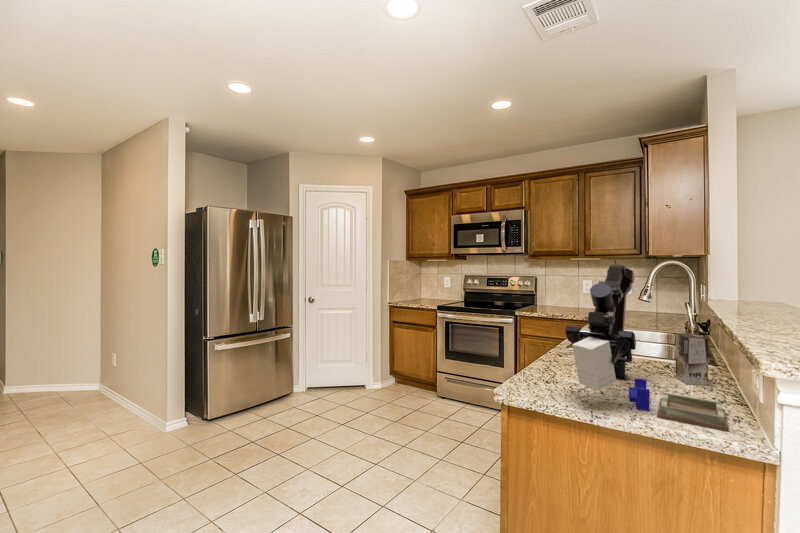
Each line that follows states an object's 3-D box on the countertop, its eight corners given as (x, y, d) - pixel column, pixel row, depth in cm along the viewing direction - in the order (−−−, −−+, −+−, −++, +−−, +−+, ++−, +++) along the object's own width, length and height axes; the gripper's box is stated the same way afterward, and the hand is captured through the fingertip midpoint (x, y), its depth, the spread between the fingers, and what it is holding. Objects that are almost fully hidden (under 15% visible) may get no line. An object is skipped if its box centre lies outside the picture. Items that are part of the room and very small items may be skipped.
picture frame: (660, 401, 120) (660, 391, 120) (724, 412, 112) (724, 402, 112) (657, 417, 108) (657, 406, 108) (728, 431, 100) (728, 419, 99)
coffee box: (708, 385, 136) (709, 338, 135) (687, 384, 137) (688, 337, 136) (694, 377, 145) (694, 333, 144) (674, 376, 146) (675, 332, 145)
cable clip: (628, 396, 126) (629, 377, 125) (645, 398, 124) (645, 379, 123) (630, 408, 115) (631, 388, 115) (649, 411, 113) (649, 390, 113)
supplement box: (617, 382, 115) (610, 341, 114) (598, 391, 113) (591, 349, 111) (596, 374, 122) (589, 335, 121) (578, 383, 120) (571, 343, 118)
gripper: (567, 299, 126) (556, 340, 118) (635, 304, 114) (628, 349, 106) (573, 321, 132) (563, 361, 124) (638, 327, 121) (632, 372, 113)
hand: (594, 360), depth 117 cm, fingers closed on supplement box, 9 cm apart
